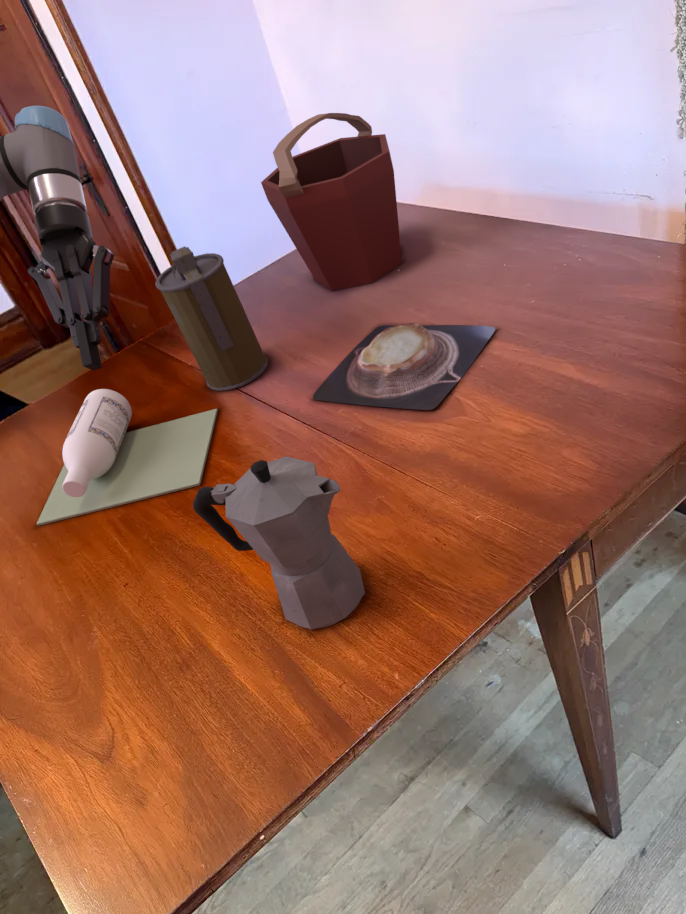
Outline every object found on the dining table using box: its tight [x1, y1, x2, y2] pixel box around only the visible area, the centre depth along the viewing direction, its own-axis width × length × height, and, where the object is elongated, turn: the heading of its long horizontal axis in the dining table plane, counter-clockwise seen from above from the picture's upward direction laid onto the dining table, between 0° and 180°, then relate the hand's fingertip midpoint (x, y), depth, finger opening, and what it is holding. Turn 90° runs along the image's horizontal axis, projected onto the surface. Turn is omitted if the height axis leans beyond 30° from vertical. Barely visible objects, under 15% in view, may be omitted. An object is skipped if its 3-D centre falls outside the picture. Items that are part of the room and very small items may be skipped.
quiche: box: [312, 322, 496, 411], centre depth 106 cm, size 21×20×4 cm
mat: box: [36, 408, 219, 527], centre depth 107 cm, size 24×18×1 cm
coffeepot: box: [192, 455, 366, 630], centre depth 72 cm, size 15×9×18 cm, turn 78°
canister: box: [154, 246, 269, 392], centre depth 113 cm, size 11×10×20 cm
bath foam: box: [61, 388, 133, 497], centre depth 106 cm, size 7×7×20 cm
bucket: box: [260, 112, 403, 291], centre depth 129 cm, size 24×22×25 cm
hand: (92, 366), depth 111 cm, fingers closed
